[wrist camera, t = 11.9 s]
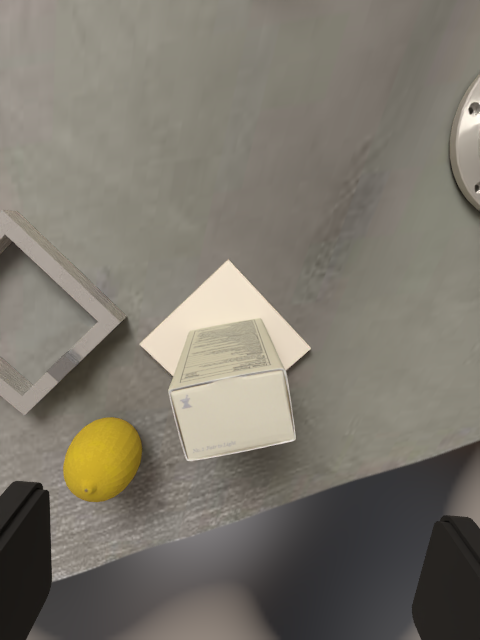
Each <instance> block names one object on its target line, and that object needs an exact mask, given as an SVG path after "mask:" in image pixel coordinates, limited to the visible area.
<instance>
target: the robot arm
mask: <svg viewBox="0 0 480 640" xmlns="http://www.w3.org/2000/svg"><path fill="white" fill-rule="evenodd" d="M468 110H469V111H470V114H469V111H468ZM450 160H451V165H452V171H453V174H454V177H455V179H456V182H457V184H458V187H459V188H460V190H461V191H462V193H463V194H464V196H465V197H466V199H467V200H468V201H469V202H470V203H471V204H472V205H473V206H474V207H475V208H476V209H477V210H479V211H480V73H479V75H478V76H477V77H476V78H475V80H474V81H473V82H472V84H471V85H470V86H469V88H468V89H467V91H466V93H465V95H464V96H463V98H462V100H461V102H460V104H459V106H458V109H457V112H456V115H455V117H454V120H453V124H452V130H451V136H450ZM475 188H476V189H475ZM51 582H52V567H51V534H50V500H49V492H48V490H43V486H42V484H41V483H37V482H24V481H15V482H13V483H12V484H11V485H10V486H9V487H8V488H7V489H6V490H5V491H4V493H3V494H2V495H1V496H0V640H26V638H27V636H28V634H29V632H30V630H31V628H32V626H33V624H34V622H35V621H36V618H37V617H38V615H39V613H40V611H41V609H42V607H43V605H44V603H45V601H46V599H47V596H48V594H49V591H50V587H51ZM412 615H413V620H414V623H415V626H416V628H417V630H418V633H419V635H420V637H421V640H480V529H479V527H478V526H477V525H476V523H475V522H474V521H473V520H472V519H471V518H468V517H460V516H447V515H446V516H443V517H442V518H441V520H440V521H437V522H436V523H435V524H434V527H433V530H432V535H431V538H430V542H429V545H428V549H427V553H426V556H425V560H424V564H423V567H422V571H421V575H420V578H419V583H418V586H417V590H416V593H415V597H414V601H413V604H412Z"/></svg>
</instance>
